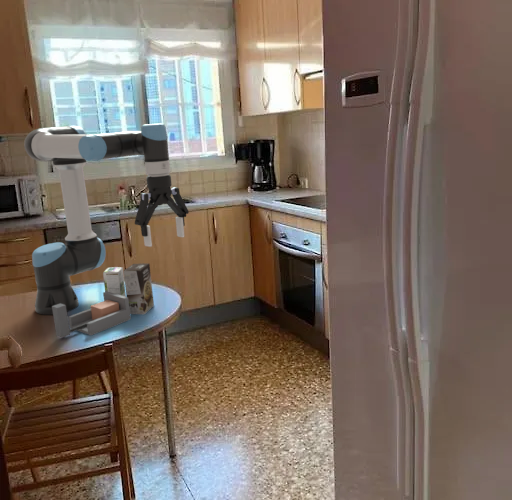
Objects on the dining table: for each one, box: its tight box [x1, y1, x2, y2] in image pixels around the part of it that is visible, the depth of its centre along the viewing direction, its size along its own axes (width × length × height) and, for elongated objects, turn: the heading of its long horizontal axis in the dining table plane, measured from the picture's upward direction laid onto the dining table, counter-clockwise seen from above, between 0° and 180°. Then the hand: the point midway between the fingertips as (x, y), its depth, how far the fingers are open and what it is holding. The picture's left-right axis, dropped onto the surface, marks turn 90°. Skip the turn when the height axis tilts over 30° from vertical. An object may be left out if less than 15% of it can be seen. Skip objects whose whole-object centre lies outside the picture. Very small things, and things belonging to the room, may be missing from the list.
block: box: [52, 300, 119, 339], centre depth 181 cm, size 6×22×10 cm, turn 141°
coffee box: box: [123, 262, 155, 316], centre depth 194 cm, size 9×6×16 cm
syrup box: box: [102, 266, 126, 296], centre depth 199 cm, size 6×6×14 cm
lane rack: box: [67, 291, 132, 336], centre depth 185 cm, size 12×16×8 cm
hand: (165, 241), depth 176 cm, fingers open, 13 cm apart
